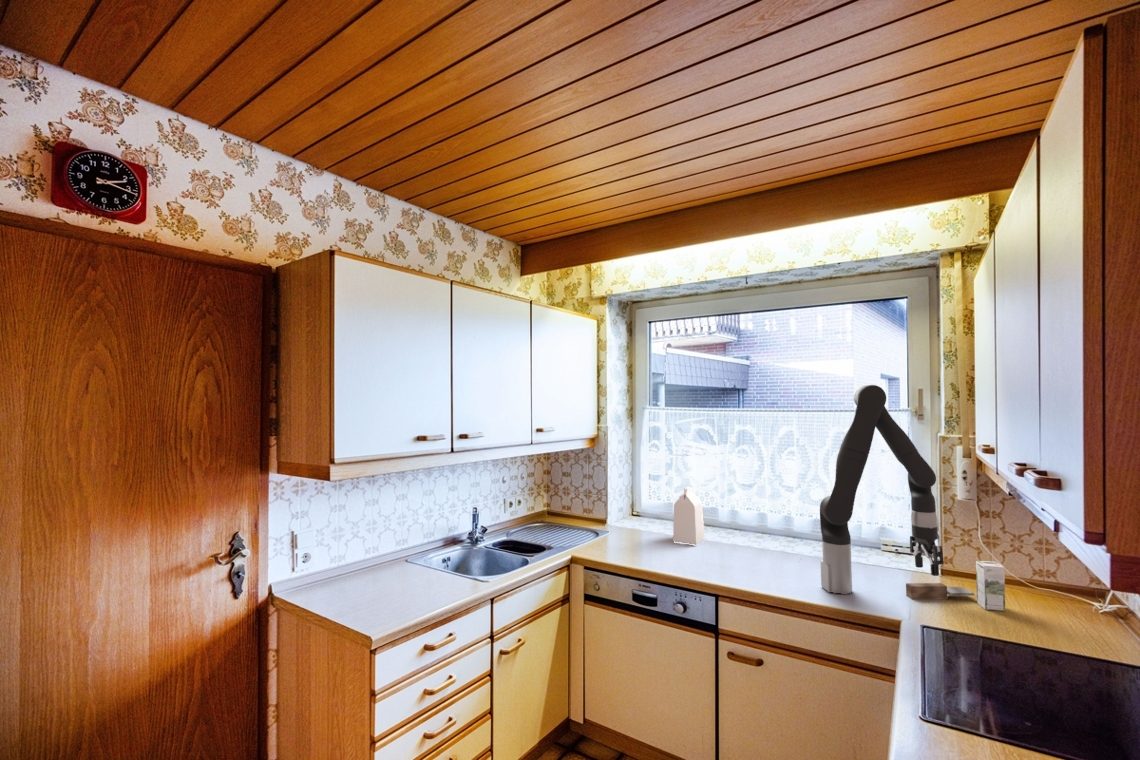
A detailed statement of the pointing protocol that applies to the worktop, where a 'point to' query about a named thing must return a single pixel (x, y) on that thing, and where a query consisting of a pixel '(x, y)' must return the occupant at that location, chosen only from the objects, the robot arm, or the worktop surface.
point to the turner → (934, 591)
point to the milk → (688, 518)
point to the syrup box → (990, 585)
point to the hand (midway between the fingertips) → (927, 571)
